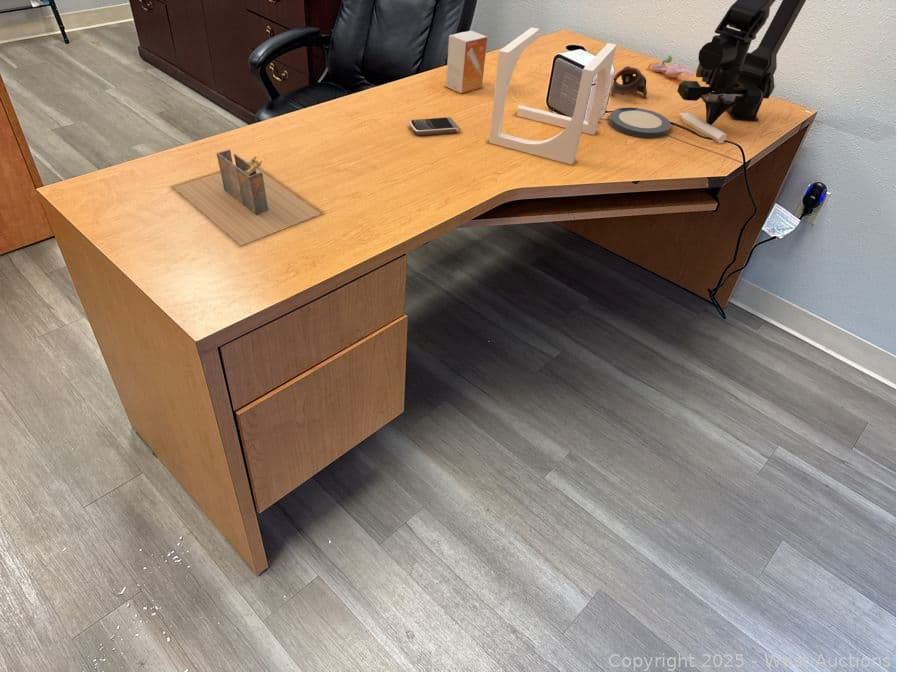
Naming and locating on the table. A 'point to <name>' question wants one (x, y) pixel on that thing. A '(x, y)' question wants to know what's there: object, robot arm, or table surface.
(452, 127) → the cell phone
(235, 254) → the table surface
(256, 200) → the architectural model on board
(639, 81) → the brown curved piece
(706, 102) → the robot arm
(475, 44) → the small box
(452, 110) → the table surface
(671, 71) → the pink elongated piece
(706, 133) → the beige long bar
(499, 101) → the white open stand
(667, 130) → the plate
